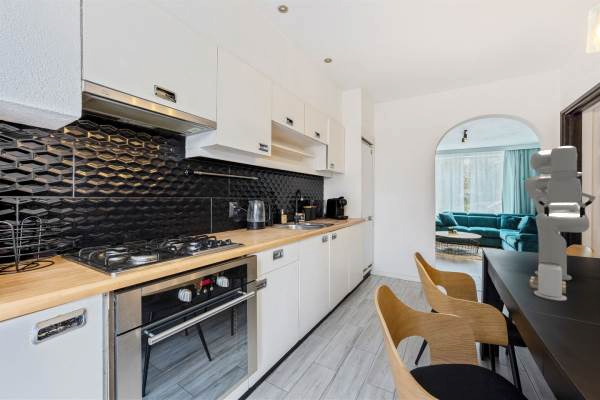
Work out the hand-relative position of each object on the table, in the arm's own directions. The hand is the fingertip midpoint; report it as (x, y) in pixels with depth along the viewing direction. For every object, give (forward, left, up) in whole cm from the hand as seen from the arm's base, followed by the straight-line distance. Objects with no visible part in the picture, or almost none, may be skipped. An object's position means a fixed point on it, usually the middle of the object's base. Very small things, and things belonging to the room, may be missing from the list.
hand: (563, 216), depth 105 cm
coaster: (+16, -4, -30) cm, 34 cm away
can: (+16, -4, -30) cm, 34 cm away
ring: (+3, -5, -30) cm, 31 cm away
